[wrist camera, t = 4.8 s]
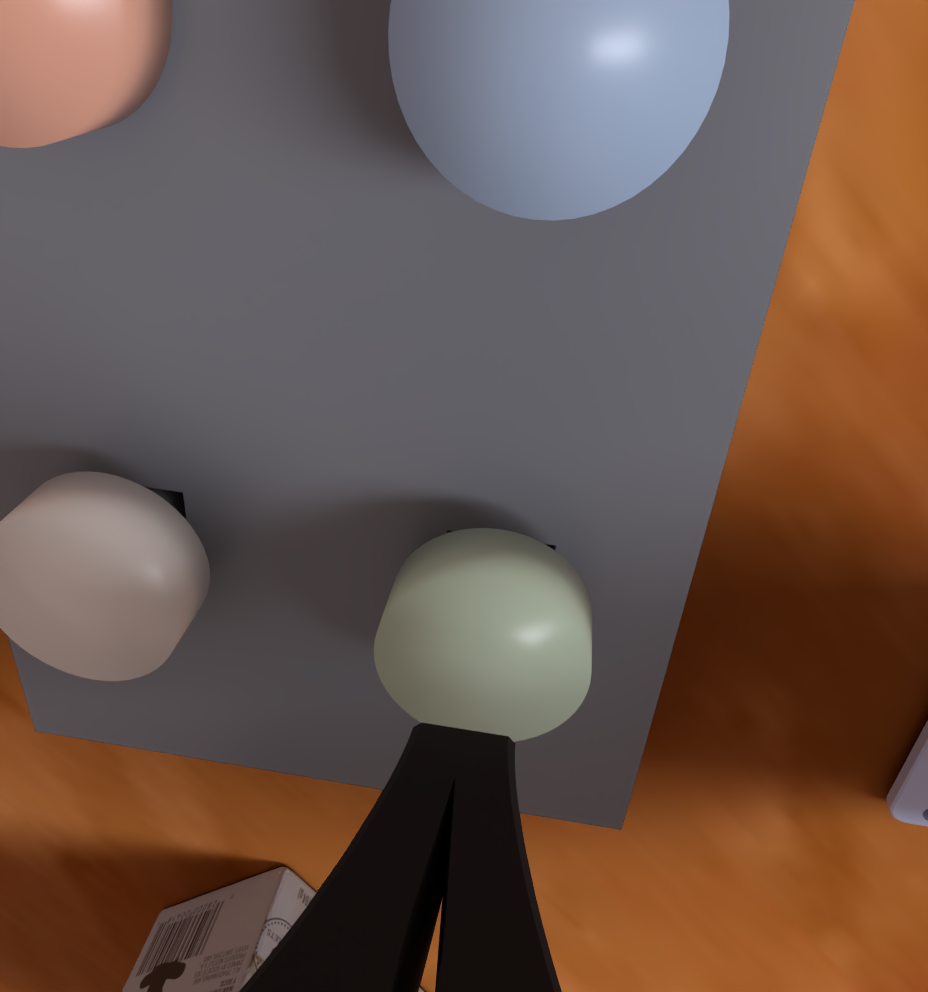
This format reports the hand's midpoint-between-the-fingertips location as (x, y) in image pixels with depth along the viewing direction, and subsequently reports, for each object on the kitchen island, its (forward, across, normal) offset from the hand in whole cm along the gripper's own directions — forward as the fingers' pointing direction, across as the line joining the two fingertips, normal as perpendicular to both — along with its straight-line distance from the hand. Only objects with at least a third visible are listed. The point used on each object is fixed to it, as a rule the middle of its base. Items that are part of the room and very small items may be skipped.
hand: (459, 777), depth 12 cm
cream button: (+6, +7, 0) cm, 9 cm away
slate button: (+6, 0, -9) cm, 11 cm away
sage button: (+6, 0, 0) cm, 6 cm away
